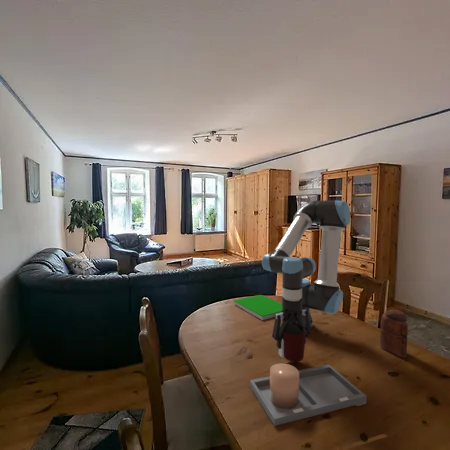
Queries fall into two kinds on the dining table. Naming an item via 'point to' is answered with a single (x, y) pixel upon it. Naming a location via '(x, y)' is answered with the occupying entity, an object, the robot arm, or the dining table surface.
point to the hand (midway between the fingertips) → (291, 353)
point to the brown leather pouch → (394, 333)
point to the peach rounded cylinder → (284, 386)
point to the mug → (294, 343)
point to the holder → (311, 395)
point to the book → (260, 306)
